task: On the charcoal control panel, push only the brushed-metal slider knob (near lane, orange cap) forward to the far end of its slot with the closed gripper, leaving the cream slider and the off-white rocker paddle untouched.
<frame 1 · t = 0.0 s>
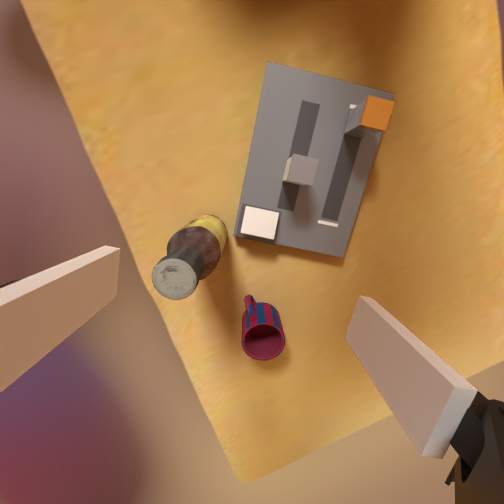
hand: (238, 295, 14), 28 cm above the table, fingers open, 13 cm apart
sauce bottle: (208, 233, 41), on the table
rocker: (259, 223, 38), point 3 cm above the table, hinge at -15.0°
mug: (258, 310, 45), on the table
slider cream: (298, 171, 34), point 5 cm above the table, slide at 0.0 cm
panel: (305, 169, 39), on the table
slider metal: (366, 119, 32), point 5 cm above the table, slide at 0.0 cm
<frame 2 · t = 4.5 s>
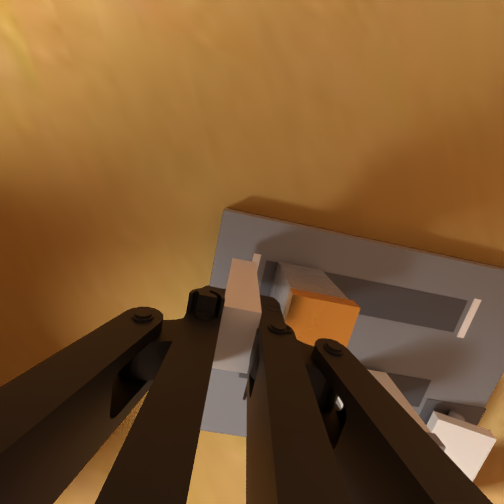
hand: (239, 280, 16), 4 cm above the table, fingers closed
rocker: (447, 443, 20), point 3 cm above the table, hinge at -15.0°
slider cream: (380, 418, 17), point 5 cm above the table, slide at 0.0 cm
panel: (345, 343, 21), on the table
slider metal: (303, 304, 15), point 5 cm above the table, slide at 0.8 cm, touching gripper
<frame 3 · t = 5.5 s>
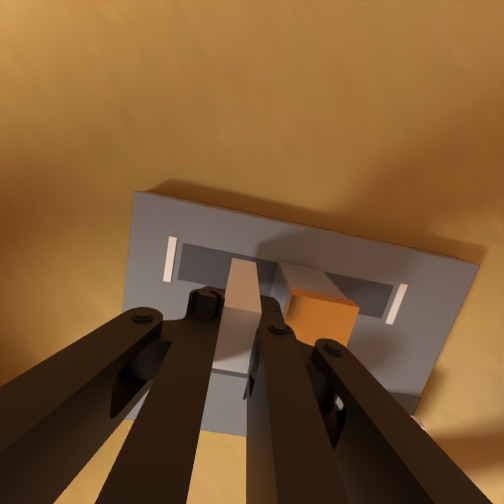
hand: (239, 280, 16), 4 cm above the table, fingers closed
rocker: (381, 433, 20), point 3 cm above the table, hinge at -15.0°
panel: (280, 331, 21), on the table
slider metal: (303, 304, 15), point 5 cm above the table, slide at 6.5 cm, touching gripper
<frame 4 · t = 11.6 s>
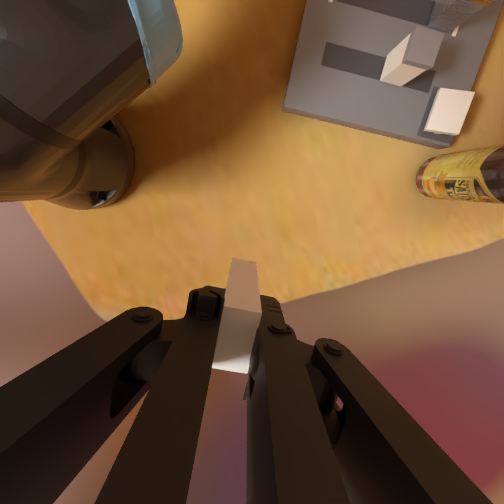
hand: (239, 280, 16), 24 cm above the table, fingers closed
sauce bottle: (433, 178, 38), on the table
rocker: (446, 113, 33), point 3 cm above the table, hinge at -15.0°
slider cream: (408, 59, 30), point 5 cm above the table, slide at 0.0 cm
panel: (382, 60, 34), on the table
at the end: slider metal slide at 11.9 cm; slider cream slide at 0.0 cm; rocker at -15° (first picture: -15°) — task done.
